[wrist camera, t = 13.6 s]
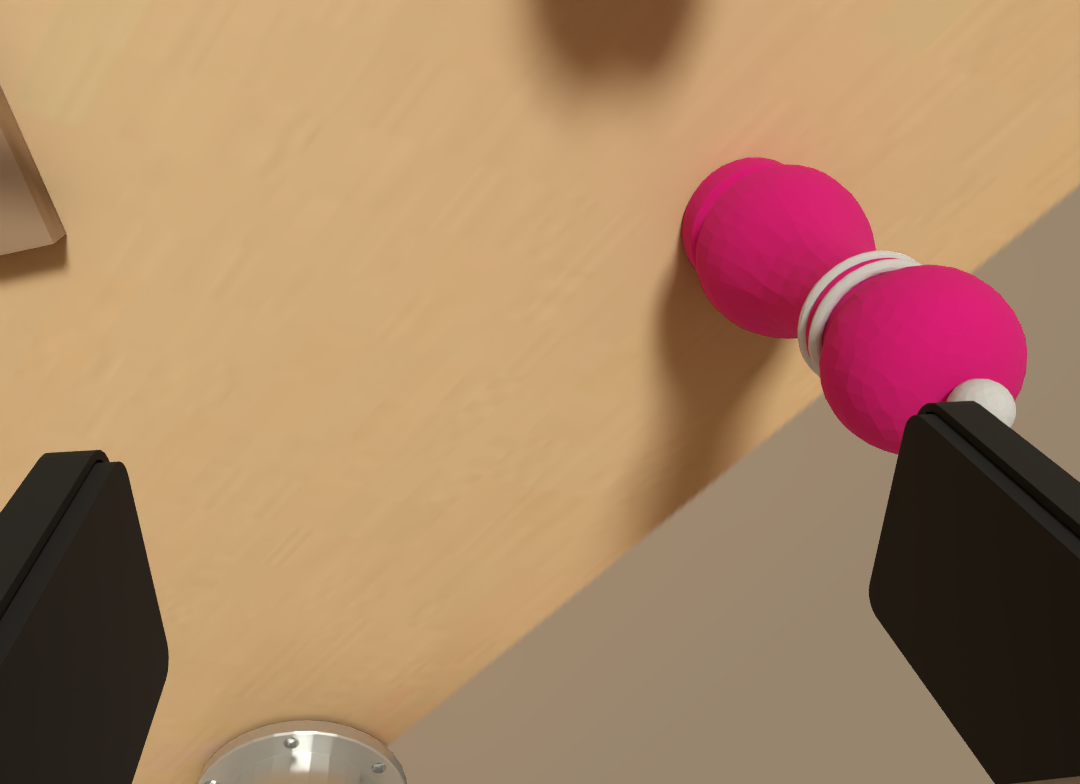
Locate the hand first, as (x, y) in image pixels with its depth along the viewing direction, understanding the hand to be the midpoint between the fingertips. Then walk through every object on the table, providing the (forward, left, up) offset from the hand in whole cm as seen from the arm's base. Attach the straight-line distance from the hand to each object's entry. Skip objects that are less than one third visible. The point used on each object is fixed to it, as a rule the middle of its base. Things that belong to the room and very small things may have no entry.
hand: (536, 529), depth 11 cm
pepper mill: (-5, -14, -31) cm, 34 cm away
